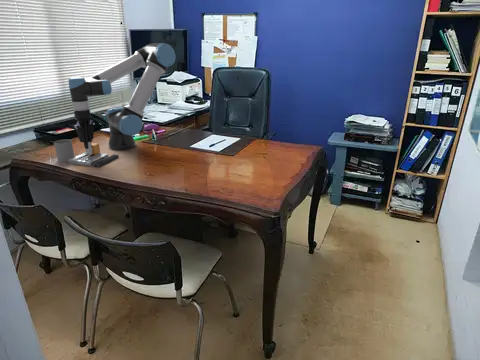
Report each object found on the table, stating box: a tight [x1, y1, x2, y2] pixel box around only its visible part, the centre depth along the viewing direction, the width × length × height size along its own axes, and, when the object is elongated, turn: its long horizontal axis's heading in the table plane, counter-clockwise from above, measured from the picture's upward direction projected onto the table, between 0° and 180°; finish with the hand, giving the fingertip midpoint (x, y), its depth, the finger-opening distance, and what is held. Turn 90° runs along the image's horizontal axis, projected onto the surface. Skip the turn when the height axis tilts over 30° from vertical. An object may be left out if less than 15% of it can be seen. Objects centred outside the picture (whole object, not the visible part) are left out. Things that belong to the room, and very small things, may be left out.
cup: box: [53, 138, 76, 163], centre depth 181 cm, size 8×8×10 cm
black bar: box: [93, 153, 119, 168], centre depth 179 cm, size 17×3×2 cm, turn 163°
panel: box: [67, 151, 110, 167], centre depth 181 cm, size 14×14×3 cm
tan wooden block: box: [91, 142, 101, 155], centre depth 185 cm, size 4×4×5 cm
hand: (89, 153), depth 181 cm, fingers closed
